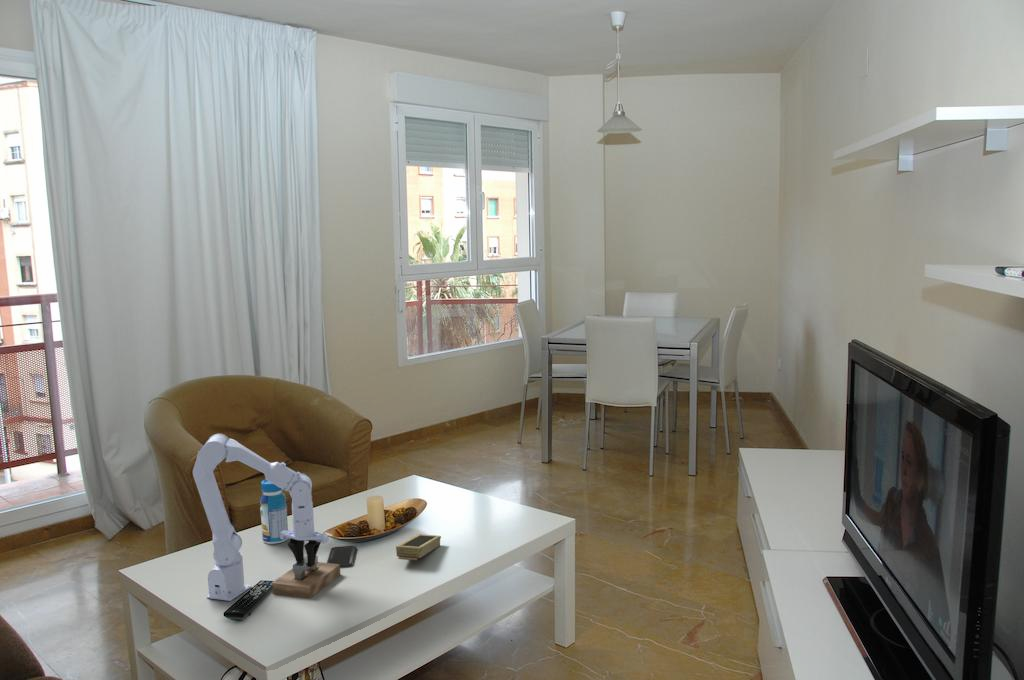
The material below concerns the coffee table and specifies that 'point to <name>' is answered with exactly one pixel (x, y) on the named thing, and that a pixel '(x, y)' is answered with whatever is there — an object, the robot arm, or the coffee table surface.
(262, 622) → the coffee table surface
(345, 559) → the phone
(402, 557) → the box
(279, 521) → the beverage bottle
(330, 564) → the wooden board with holes
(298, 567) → the metal staple
